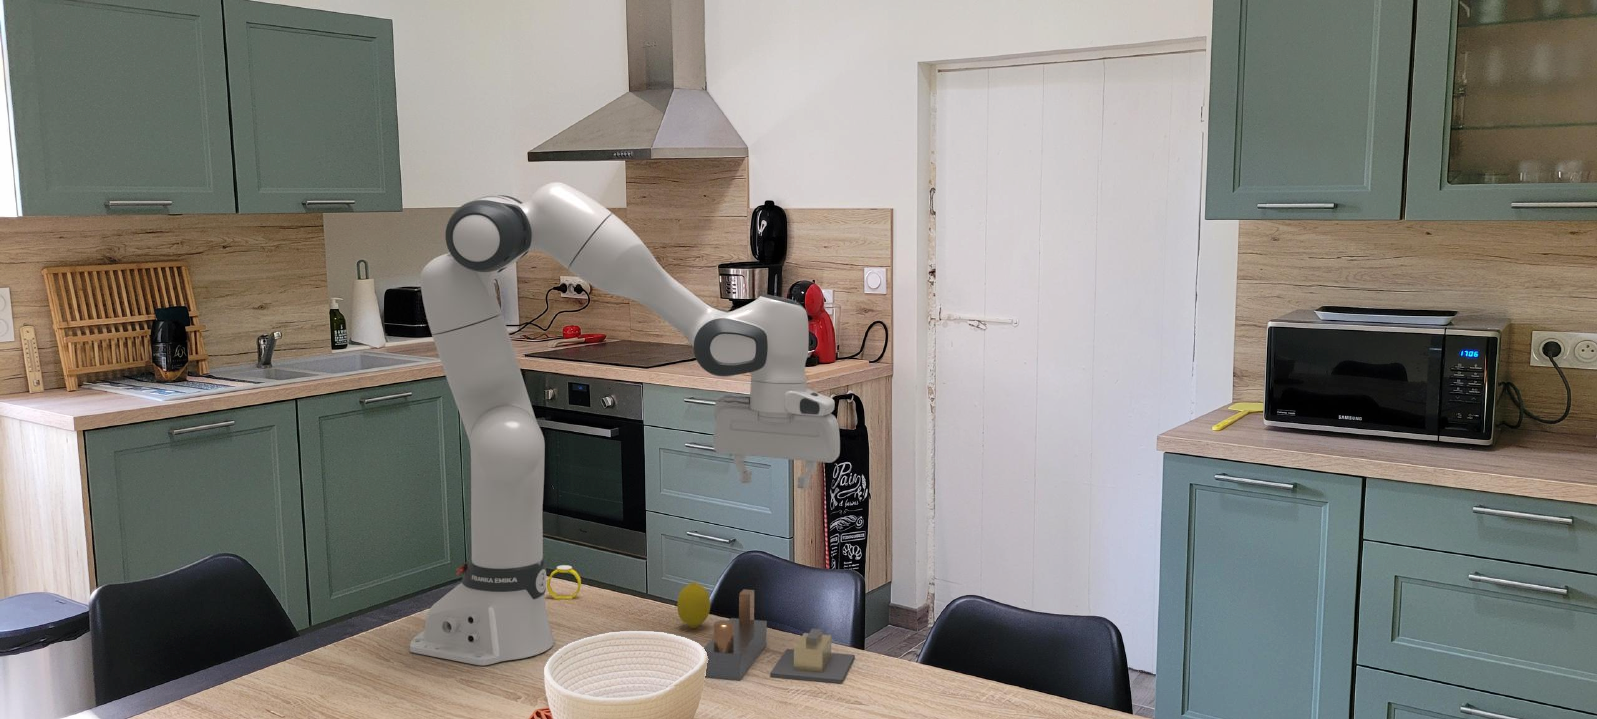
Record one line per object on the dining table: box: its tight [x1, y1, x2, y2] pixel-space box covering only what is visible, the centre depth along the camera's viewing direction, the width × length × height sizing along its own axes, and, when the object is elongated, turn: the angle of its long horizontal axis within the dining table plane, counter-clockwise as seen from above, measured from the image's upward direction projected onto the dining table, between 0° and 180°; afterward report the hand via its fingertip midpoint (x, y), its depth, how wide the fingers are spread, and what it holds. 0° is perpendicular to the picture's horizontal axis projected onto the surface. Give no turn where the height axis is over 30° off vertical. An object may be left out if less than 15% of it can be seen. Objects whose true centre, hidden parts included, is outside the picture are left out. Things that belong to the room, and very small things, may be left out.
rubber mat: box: [769, 648, 856, 685], centre depth 179 cm, size 11×11×1 cm
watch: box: [546, 564, 582, 600], centre depth 212 cm, size 6×3×6 cm, turn 92°
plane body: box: [703, 588, 768, 681], centre depth 181 cm, size 6×16×9 cm, turn 167°
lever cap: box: [793, 628, 832, 673], centre depth 179 cm, size 4×7×4 cm, turn 167°
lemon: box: [676, 581, 711, 629], centre depth 196 cm, size 6×6×8 cm
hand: (774, 485), depth 184 cm, fingers open, 8 cm apart
